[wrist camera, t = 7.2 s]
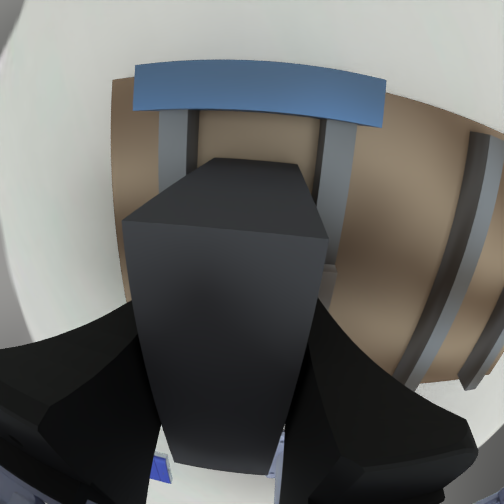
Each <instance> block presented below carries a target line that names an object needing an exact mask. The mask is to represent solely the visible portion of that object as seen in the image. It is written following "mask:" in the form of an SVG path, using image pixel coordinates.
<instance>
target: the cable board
mask: <svg viewBox="0 0 504 504" xmlns="http://www.w3.org/2000/svg"><path fill="white" fill-rule="evenodd" d="M385 92H386V80H384V79H380V78H375V77H371V76H367V75H362V74H357V73H352V72H347V71H342V70H336V69H330V68H324V67H317V66H310V65H302V64H293V63H283V62H271V61H254V60H188V61H172V62H160V63H150V64H141V65H135V77H131V78H123V79H116V80H113V82H112V101H111V167H112V188H113V202H114V214H115V225H116V234H117V243H118V251H119V258H120V265H121V272H122V279H123V285H124V291H125V296H126V302H129V301H131V300H132V299H131V293H130V286H129V280H128V273H127V266H126V258H125V250H124V241H123V231H122V220H123V219H124V218H126V217H127V216H128V215H130V214H131V213H132V212H134V211H135V210H137V209H138V208H139V207H141V206H142V205H143V204H145V203H146V202H148V201H149V200H151V199H152V198H153V197H155V196H156V195H158V194H159V193H161V192H162V191H164V190H165V189H166V188H168V187H169V186H171V185H172V184H174V183H175V182H177V181H178V180H180V179H181V178H183V177H184V176H186V175H188V174H189V173H191V172H192V171H194V170H195V169H197V168H198V167H200V166H202V165H203V164H205V163H206V162H208V161H210V160H211V159H213V158H214V157H216V158H233V159H247V160H260V161H271V162H282V163H291V164H298V166H299V168H300V170H301V173H302V175H303V177H304V180H305V182H306V184H307V186H308V189H309V191H310V193H311V196H312V198H313V201H314V203H315V205H316V208H317V210H318V213H319V215H320V217H321V220H322V222H323V225H324V227H325V230H326V232H327V235H328V237H329V243H328V249H327V254H326V259H325V264H324V270H323V275H322V279H321V284H320V289H319V294H318V298H319V299H320V301H321V302H322V304H323V305H324V306H325V308H326V309H327V311H328V312H329V313H330V315H331V316H332V317H333V318H334V320H335V321H336V322H337V324H338V325H339V326H340V327H341V328H342V330H343V331H344V332H345V333H346V334H347V335H348V336H349V337H350V339H351V340H352V341H353V342H354V343H355V344H356V345H357V346H358V347H359V348H360V349H361V350H362V351H363V352H364V353H365V354H366V355H367V356H369V357H370V358H371V359H372V360H373V361H374V362H375V363H376V364H377V365H379V366H380V367H381V368H382V369H383V370H385V371H386V372H387V373H388V374H390V375H391V376H392V377H394V378H395V379H396V380H398V381H399V382H400V383H402V384H403V385H405V386H406V387H408V388H409V389H411V390H412V391H414V392H415V390H416V388H417V387H418V385H419V384H420V383H431V382H440V381H449V380H457V379H459V380H460V382H461V384H462V386H463V388H464V390H465V391H467V390H472V389H475V388H476V387H477V386H478V384H479V383H480V381H481V380H482V379H483V377H484V376H485V375H489V374H490V372H491V371H492V369H493V368H494V366H495V365H496V363H497V362H498V360H499V359H500V357H501V355H502V354H503V352H504V134H502V133H500V132H498V131H496V130H494V129H491V128H489V127H487V126H484V125H482V124H480V123H477V122H475V121H472V120H470V119H467V118H465V117H462V116H460V115H457V114H454V113H452V112H449V111H446V110H443V109H440V108H437V107H434V106H431V105H428V104H425V103H422V102H418V101H415V100H412V99H408V98H404V97H401V96H397V95H393V94H389V93H385Z"/></svg>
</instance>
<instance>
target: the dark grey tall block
mask: <svg viewBox="0 0 504 504" xmlns="http://www.w3.org/2000/svg"><path fill="white" fill-rule="evenodd" d="M122 231H123V241H124V250H125V258H126V266H127V273H128V280H129V286H130V293H131V299H132V305H133V310H134V316H135V321H136V326H137V331H138V336H139V341H140V345H141V350H142V354H143V358H144V363H145V367H146V371H147V375H148V379H149V383H150V386H151V390H152V394H153V397H154V401H155V404H156V408H157V411H158V415H159V418H160V421H161V424H162V427H163V431H164V434H165V437H166V440H167V443H168V446H169V448H170V451H171V454H172V457H173V460H174V462H176V463H180V464H185V465H190V466H195V467H201V468H207V469H213V470H220V471H227V472H235V473H244V474H255V475H268V473H269V470H270V467H271V465H272V462H273V459H274V456H275V453H276V450H277V447H278V444H279V440H280V437H281V434H282V431H283V428H284V425H285V421H286V418H287V415H288V411H289V408H290V405H291V401H292V398H293V394H294V391H295V387H296V383H297V380H298V376H299V372H300V369H301V365H302V361H303V357H304V353H305V349H306V345H307V341H308V337H309V333H310V329H311V325H312V320H313V316H314V312H315V307H316V303H317V298H318V294H319V289H320V284H321V279H322V275H323V270H324V264H325V259H326V254H327V249H328V243H329V237H328V235H327V232H326V230H325V227H324V225H323V222H322V220H321V217H320V215H319V213H318V210H317V208H316V205H315V203H314V201H313V198H312V196H311V193H310V191H309V189H308V186H307V184H306V182H305V180H304V177H303V175H302V173H301V170H300V168H299V166H298V164H291V163H282V162H271V161H260V160H247V159H233V158H216V157H214V158H213V159H211V160H210V161H208V162H206V163H205V164H203V165H202V166H200V167H198V168H197V169H195V170H194V171H192V172H191V173H189V174H188V175H186V176H184V177H183V178H181V179H180V180H178V181H177V182H175V183H174V184H172V185H171V186H169V187H168V188H166V189H165V190H164V191H162V192H161V193H159V194H158V195H156V196H155V197H153V198H152V199H151V200H149V201H148V202H146V203H145V204H143V205H142V206H141V207H139V208H138V209H137V210H135V211H134V212H132V213H131V214H130V215H128V216H127V217H126V218H124V219H123V220H122Z"/></svg>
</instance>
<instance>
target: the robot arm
mask: <svg viewBox="0 0 504 504" xmlns="http://www.w3.org/2000/svg"><path fill="white" fill-rule="evenodd" d="M160 427H161V421H160V418H159V415H158V411H157V408H156V404H155V401H154V397H153V394H152V390H151V386H150V383H149V379H148V375H147V371H146V367H145V363H144V358H143V354H142V350H141V345H140V341H139V336H138V331H137V326H136V321H135V316H134V310H133V305H132V300H131V301H129V302H127V303H126V304H124V305H122V306H121V307H119V308H117V309H116V310H114V311H112V312H110V313H109V314H107V315H105V316H103V317H101V318H99V319H97V320H95V321H92V322H90V323H88V324H86V325H84V326H81V327H79V328H76V329H73V330H71V331H68V332H66V333H63V334H60V335H58V336H55V337H52V338H48V339H45V340H42V341H38V342H34V343H30V344H26V345H22V346H18V347H11V348H5V349H0V504H45V502H46V503H47V504H146V499H147V492H148V485H149V479H150V474H151V468H152V463H153V458H154V453H155V449H156V444H157V440H158V436H159V431H160ZM477 456H478V448H477V446H476V443H475V440H474V438H473V435H472V432H471V430H470V427H469V425H468V423H467V420H466V419H464V418H462V417H460V416H458V415H456V414H454V413H451V412H449V411H447V410H445V409H443V408H441V407H439V406H437V405H435V404H433V403H432V402H430V401H428V400H427V399H425V398H423V397H422V396H420V395H418V394H417V393H415V392H414V391H412V390H411V389H409V388H408V387H406V386H405V385H403V384H402V383H400V382H399V381H398V380H396V379H395V378H394V377H392V376H391V375H390V374H388V373H387V372H386V371H385V370H383V369H382V368H381V367H380V366H379V365H377V364H376V363H375V362H374V361H373V360H372V359H371V358H370V357H369V356H367V355H366V354H365V353H364V352H363V351H362V350H361V349H360V348H359V347H358V346H357V345H356V344H355V343H354V342H353V341H352V340H351V339H350V337H349V336H348V335H347V334H346V333H345V332H344V331H343V330H342V328H341V327H340V326H339V325H338V324H337V322H336V321H335V320H334V318H333V317H332V316H331V315H330V313H329V312H328V311H327V309H326V308H325V306H324V305H323V304H322V302H321V301H320V299H319V298H317V303H316V307H315V312H314V316H313V320H312V325H311V329H310V333H309V337H308V341H307V345H306V349H305V353H304V357H303V361H302V365H301V369H300V372H299V376H298V380H297V383H296V387H295V391H294V394H293V398H292V401H291V405H290V408H289V411H288V415H287V418H286V421H285V432H282V434H281V437H280V440H279V444H278V447H277V450H276V453H275V456H274V459H273V462H272V465H271V467H270V470H269V473H268V475H266V477H268V478H275V495H274V504H439V503H441V502H443V501H444V499H445V496H444V491H443V488H444V487H445V486H447V485H448V484H449V483H451V482H452V481H453V480H455V479H456V478H457V477H458V476H460V475H461V474H462V473H463V472H465V471H466V470H467V469H468V468H469V467H470V466H471V465H472V464H473V463H474V461H475V459H476V458H477ZM473 504H504V487H503V488H501V489H500V490H499V491H498V492H496V493H494V494H492V495H490V496H488V497H486V498H484V499H482V500H479V501H477V502H475V503H473Z"/></svg>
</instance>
